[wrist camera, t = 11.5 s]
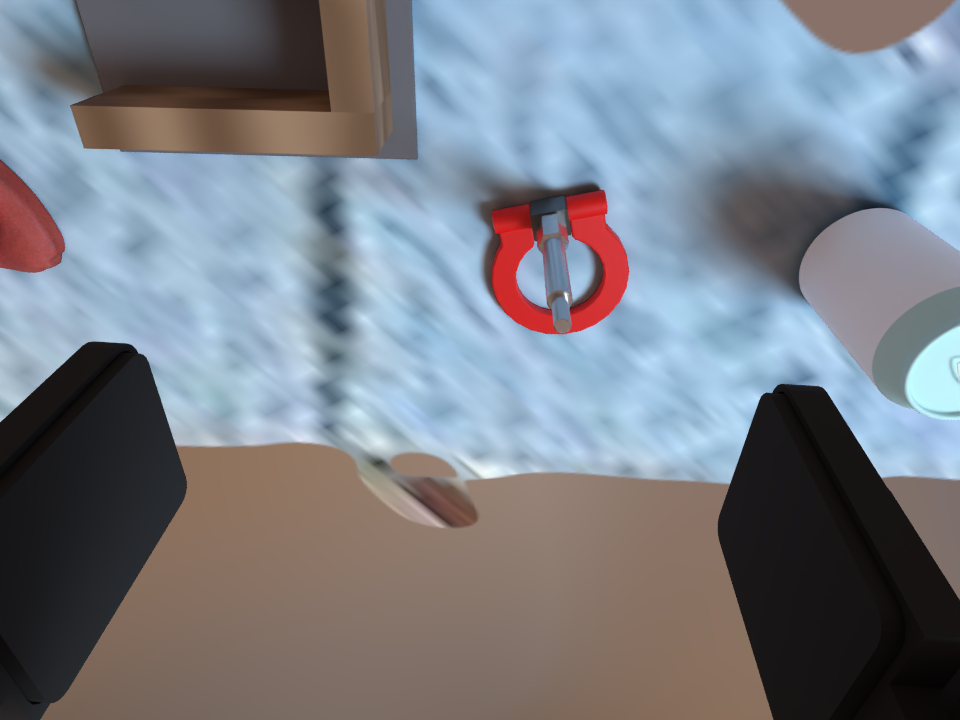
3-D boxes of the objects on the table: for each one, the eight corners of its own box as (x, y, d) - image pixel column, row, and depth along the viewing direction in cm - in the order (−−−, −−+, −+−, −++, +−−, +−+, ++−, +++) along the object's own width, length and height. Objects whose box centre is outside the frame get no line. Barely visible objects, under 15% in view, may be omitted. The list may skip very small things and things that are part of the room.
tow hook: (631, 314, 42) (619, 180, 37) (670, 453, 32) (661, 294, 26) (505, 334, 43) (476, 207, 38) (504, 473, 33) (463, 326, 28)
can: (840, 187, 36) (964, 282, 26) (945, 225, 37) (1103, 331, 27) (772, 291, 40) (857, 409, 30) (868, 323, 41) (983, 447, 31)
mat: (407, -103, 30) (406, -104, 29) (417, 156, 36) (416, 159, 36) (50, -109, 30) (43, -109, 30) (125, 149, 37) (120, 151, 36)
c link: (381, -67, 30) (360, -67, 26) (393, 130, 35) (376, 156, 31) (80, -72, 31) (12, -73, 26) (134, 123, 36) (83, 148, 31)
